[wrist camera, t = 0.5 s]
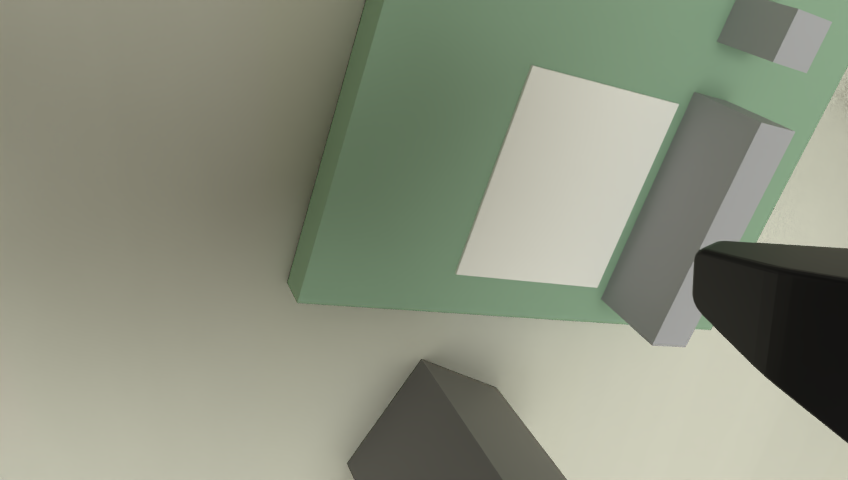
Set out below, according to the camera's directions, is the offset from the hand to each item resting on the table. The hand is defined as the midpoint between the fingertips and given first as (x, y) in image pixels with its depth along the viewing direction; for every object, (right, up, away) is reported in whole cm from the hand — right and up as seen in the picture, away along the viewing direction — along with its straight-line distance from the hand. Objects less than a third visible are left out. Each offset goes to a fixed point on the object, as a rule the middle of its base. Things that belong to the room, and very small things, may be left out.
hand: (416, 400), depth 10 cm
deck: (+6, +6, +16) cm, 18 cm away
